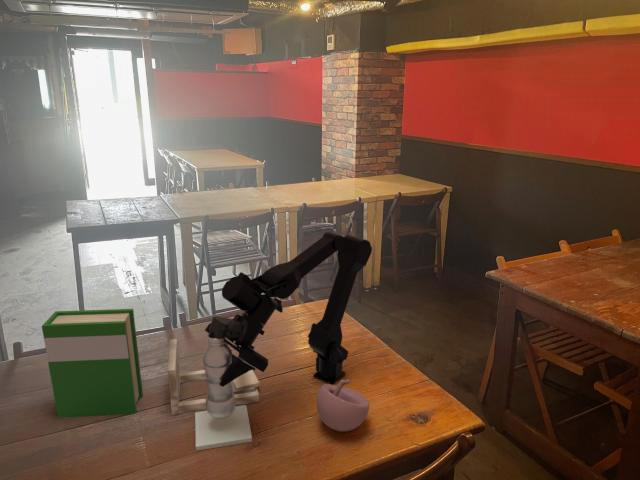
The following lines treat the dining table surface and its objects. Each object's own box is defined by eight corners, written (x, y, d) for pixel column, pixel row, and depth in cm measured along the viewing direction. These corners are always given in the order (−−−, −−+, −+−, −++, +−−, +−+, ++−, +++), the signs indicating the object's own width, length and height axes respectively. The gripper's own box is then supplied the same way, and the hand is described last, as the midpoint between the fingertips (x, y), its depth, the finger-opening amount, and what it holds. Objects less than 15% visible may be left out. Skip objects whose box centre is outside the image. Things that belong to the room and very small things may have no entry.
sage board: (246, 408, 119) (246, 405, 119) (252, 441, 108) (251, 437, 108) (195, 415, 116) (195, 412, 116) (196, 450, 105) (195, 446, 105)
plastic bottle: (213, 402, 115) (208, 326, 109) (240, 407, 114) (236, 329, 108) (201, 420, 109) (194, 340, 103) (229, 424, 108) (224, 343, 102)
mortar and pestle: (378, 425, 113) (381, 383, 110) (343, 451, 105) (344, 405, 102) (341, 402, 121) (342, 362, 118) (305, 424, 113) (305, 381, 110)
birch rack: (252, 369, 135) (250, 330, 132) (259, 402, 121) (257, 359, 118) (174, 379, 130) (170, 339, 127) (171, 414, 116) (167, 370, 113)
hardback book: (143, 395, 124) (133, 308, 117) (135, 413, 117) (124, 322, 109) (70, 398, 122) (55, 311, 115) (58, 418, 115) (41, 325, 108)
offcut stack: (255, 377, 132) (255, 367, 131) (260, 394, 125) (260, 384, 124) (229, 381, 130) (229, 371, 130) (233, 399, 123) (232, 388, 122)
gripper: (209, 289, 112) (168, 348, 109) (254, 318, 99) (209, 385, 95) (240, 311, 120) (203, 366, 116) (286, 340, 106) (245, 403, 103)
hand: (213, 379), depth 107 cm, fingers closed on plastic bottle, 6 cm apart
